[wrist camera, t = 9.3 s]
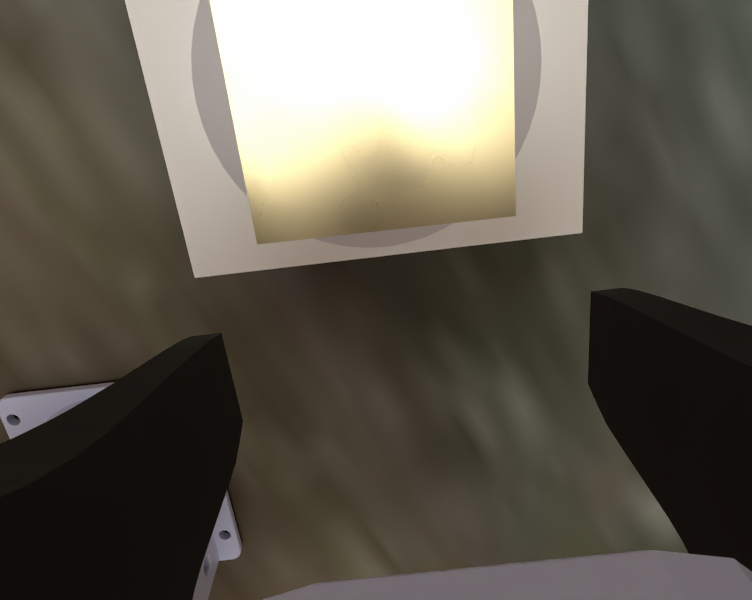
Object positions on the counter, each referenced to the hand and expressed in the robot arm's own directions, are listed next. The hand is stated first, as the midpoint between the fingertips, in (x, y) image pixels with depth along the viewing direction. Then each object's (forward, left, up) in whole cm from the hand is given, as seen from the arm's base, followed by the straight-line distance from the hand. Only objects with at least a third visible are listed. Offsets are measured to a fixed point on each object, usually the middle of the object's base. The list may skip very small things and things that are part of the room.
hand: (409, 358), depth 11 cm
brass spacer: (+5, 0, -8) cm, 9 cm away
